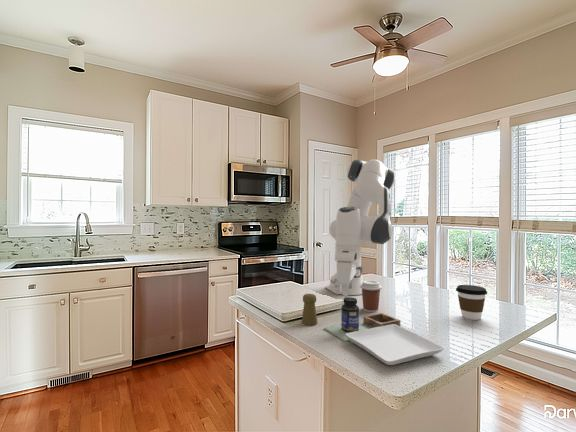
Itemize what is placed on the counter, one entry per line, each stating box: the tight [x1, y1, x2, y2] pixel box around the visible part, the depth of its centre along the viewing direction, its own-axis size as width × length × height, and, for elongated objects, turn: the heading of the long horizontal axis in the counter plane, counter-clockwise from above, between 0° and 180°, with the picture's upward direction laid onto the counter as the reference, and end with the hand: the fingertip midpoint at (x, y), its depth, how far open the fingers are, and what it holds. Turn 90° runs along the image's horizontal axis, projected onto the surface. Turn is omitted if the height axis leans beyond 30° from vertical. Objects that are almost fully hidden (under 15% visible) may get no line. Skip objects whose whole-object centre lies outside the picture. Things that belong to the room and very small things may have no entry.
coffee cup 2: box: [455, 284, 488, 321], centre depth 124 cm, size 11×11×12 cm
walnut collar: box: [362, 312, 401, 328], centre depth 116 cm, size 9×9×2 cm
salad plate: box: [345, 324, 444, 366], centre depth 96 cm, size 21×21×3 cm
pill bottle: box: [340, 296, 360, 333], centre depth 110 cm, size 6×6×11 cm
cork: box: [301, 293, 318, 327], centre depth 118 cm, size 6×6×11 cm
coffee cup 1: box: [360, 279, 382, 313], centre depth 135 cm, size 9×9×12 cm
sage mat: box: [323, 323, 368, 343], centre depth 110 cm, size 13×13×1 cm
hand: (347, 291), depth 110 cm, fingers open, 8 cm apart
